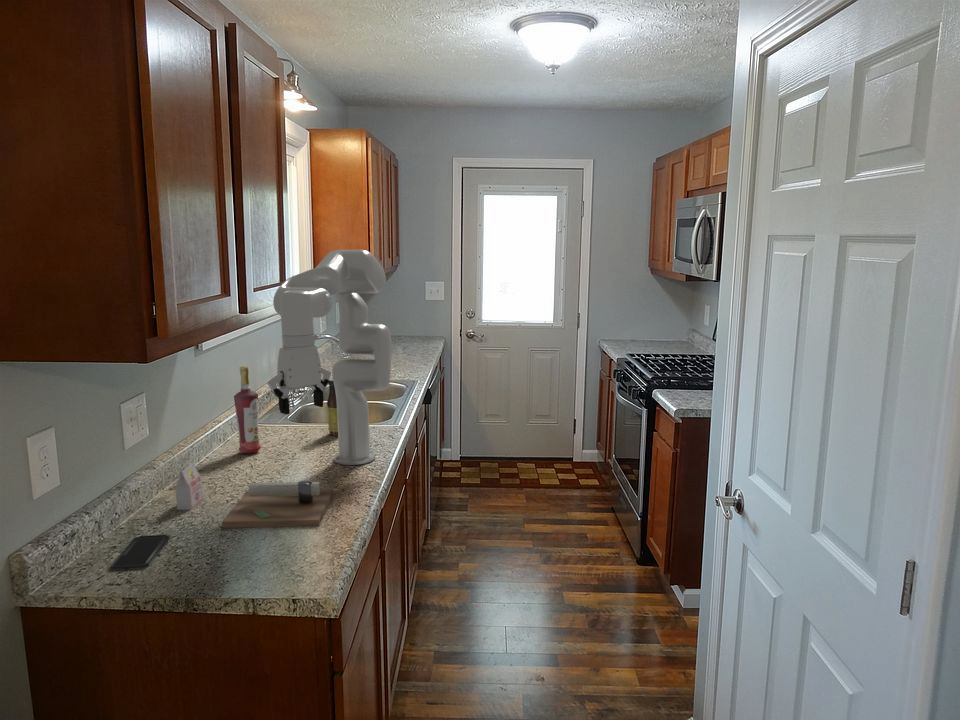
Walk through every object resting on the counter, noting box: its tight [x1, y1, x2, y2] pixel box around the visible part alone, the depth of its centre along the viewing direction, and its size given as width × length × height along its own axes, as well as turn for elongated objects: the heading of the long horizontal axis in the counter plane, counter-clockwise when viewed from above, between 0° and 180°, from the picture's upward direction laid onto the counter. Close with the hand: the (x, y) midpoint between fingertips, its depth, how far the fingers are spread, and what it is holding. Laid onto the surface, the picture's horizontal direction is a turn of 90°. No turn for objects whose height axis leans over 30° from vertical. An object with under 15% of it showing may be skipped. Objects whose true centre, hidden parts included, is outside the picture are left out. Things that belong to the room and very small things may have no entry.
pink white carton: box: [174, 463, 204, 511], centre depth 176 cm, size 4×7×10 cm, turn 177°
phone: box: [110, 534, 171, 571], centre depth 150 cm, size 8×1×15 cm
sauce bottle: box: [326, 377, 338, 437], centre depth 237 cm, size 7×6×20 cm
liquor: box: [233, 365, 262, 455], centre depth 217 cm, size 7×7×28 cm
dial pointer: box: [248, 480, 321, 503], centre depth 174 cm, size 18×4×5 cm, turn 92°
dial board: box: [221, 487, 335, 529], centre depth 173 cm, size 21×23×2 cm
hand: (302, 409), depth 168 cm, fingers open, 9 cm apart
